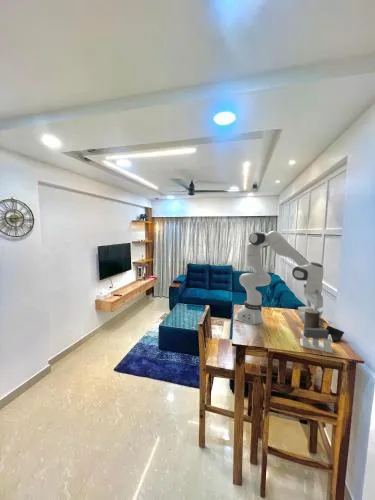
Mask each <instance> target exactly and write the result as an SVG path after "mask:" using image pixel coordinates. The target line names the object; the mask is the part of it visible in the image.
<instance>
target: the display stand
mask: <svg viewBox="0 0 375 500" xmlns="http://www.w3.org/2000/svg"><path fill="white" fill-rule="evenodd" d="M300 335H301V338H299V344H300V347H302V348H307V349H310V350H311V349H312V350H316V351H321V352H327V353H330V352H331V353H330V354H333V349H332V346H331V345H332V343H333V340H332V338H331V335H330V334H329V336H328V339H326V338H322V342H321V341H320V340H319V339H320V338H312V340H311V339H310V338H306V337H305V336H304V329H300Z"/></svg>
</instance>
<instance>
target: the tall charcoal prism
mask: <svg viewBox="0 0 375 500" xmlns="http://www.w3.org/2000/svg"><path fill="white" fill-rule="evenodd" d="M303 332H304V336H305V337H306V338H309V339H310V338H311V339H313V338H318V339H323V338H326V339H328V330H327V329H326V328H320V327H319V328H304V327H303Z"/></svg>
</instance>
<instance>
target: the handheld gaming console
mask: <svg viewBox="0 0 375 500" xmlns="http://www.w3.org/2000/svg"><path fill="white" fill-rule="evenodd" d="M325 329H327V330H328V336H329V334H330V335H331V338H332V342H339V341H341V339H342V337H343V335H344V334H345V331H343V330H341V329H338V328H336V327H333V326H330V325H327V326H326V328H325Z"/></svg>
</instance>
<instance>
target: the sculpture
mask: <svg viewBox="0 0 375 500" xmlns="http://www.w3.org/2000/svg"><path fill="white" fill-rule="evenodd" d="M314 308H315V307H312V306H311V307H308V306H307V305H306V306H297V309H298V314H299V316H300V318H301V320H302V323H304V315H305V309H314ZM318 311H319V312H320V315H319V326H322V327H324V328H325V326H326V325H324V324H323V322H322V320H321V319H320V318H321V317H322V315H323V313H324V310H323V309H320V310H319V309H318Z"/></svg>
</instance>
